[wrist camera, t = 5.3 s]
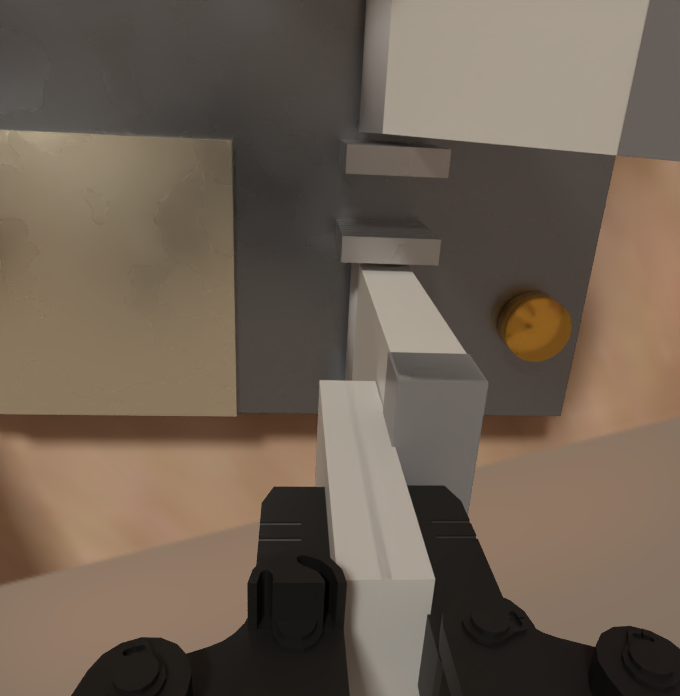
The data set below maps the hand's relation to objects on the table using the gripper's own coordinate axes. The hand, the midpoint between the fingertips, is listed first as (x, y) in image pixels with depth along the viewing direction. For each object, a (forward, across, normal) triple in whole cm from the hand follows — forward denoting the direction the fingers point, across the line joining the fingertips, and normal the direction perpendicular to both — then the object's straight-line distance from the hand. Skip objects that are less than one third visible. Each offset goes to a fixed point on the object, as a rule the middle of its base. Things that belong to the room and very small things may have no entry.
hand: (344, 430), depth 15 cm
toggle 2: (+7, +2, +9) cm, 11 cm away
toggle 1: (+7, +2, 0) cm, 7 cm away
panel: (+10, -2, +4) cm, 11 cm away
